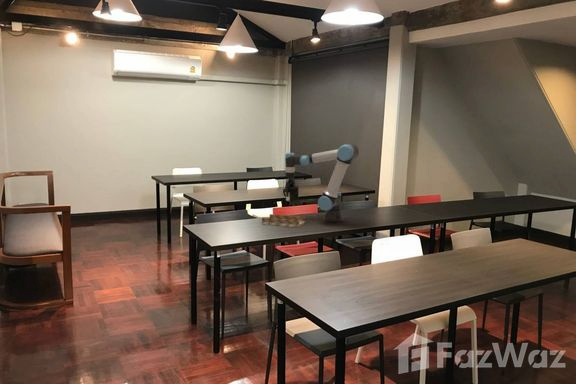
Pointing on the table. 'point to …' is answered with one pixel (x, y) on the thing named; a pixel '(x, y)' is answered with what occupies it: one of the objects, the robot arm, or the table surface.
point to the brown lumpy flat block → (284, 220)
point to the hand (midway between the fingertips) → (290, 199)
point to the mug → (292, 194)
